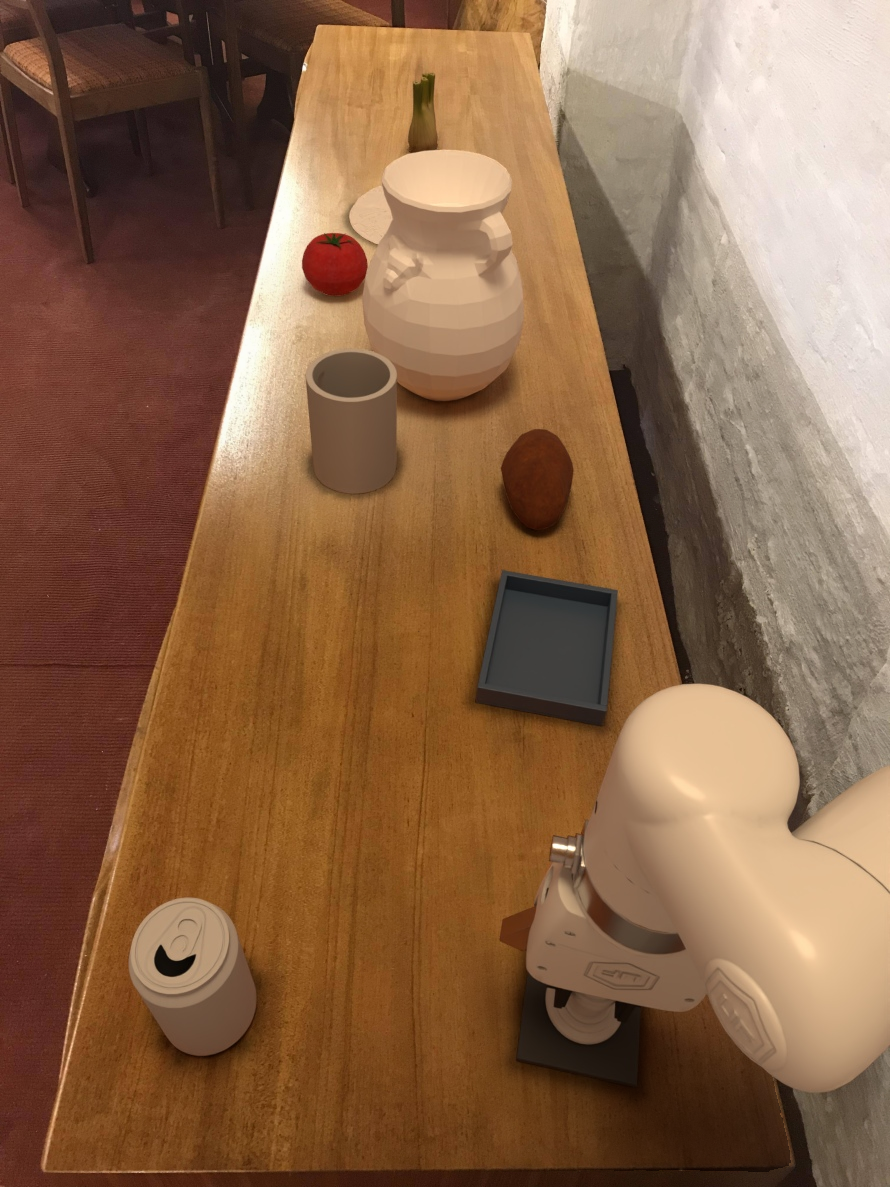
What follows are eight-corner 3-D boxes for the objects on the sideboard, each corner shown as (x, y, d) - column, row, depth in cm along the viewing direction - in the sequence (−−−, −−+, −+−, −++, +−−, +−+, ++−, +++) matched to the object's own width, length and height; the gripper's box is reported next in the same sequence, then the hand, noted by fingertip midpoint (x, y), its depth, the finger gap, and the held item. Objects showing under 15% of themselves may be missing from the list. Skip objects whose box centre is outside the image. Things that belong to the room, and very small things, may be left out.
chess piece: (620, 966, 64) (644, 921, 57) (624, 1049, 60) (650, 1012, 53) (544, 961, 64) (559, 915, 57) (544, 1043, 60) (560, 1005, 53)
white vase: (334, 372, 111) (321, 166, 92) (445, 321, 119) (455, 123, 101) (433, 448, 102) (442, 237, 83) (546, 388, 110) (577, 184, 92)
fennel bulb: (414, 160, 152) (416, 82, 143) (400, 148, 154) (400, 72, 145) (444, 153, 154) (447, 77, 145) (429, 142, 156) (431, 67, 147)
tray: (602, 726, 78) (606, 711, 76) (475, 702, 79) (477, 687, 78) (613, 605, 87) (618, 589, 86) (500, 585, 89) (502, 569, 87)
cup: (395, 494, 97) (395, 403, 88) (310, 492, 96) (301, 400, 87) (397, 440, 103) (397, 349, 94) (317, 438, 102) (310, 347, 93)
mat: (635, 1087, 59) (637, 1085, 59) (515, 1060, 60) (516, 1058, 60) (641, 966, 65) (643, 963, 64) (531, 943, 65) (532, 940, 65)
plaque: (424, 175, 147) (424, 166, 146) (507, 225, 138) (507, 216, 136) (323, 215, 139) (322, 205, 138) (404, 271, 129) (404, 262, 128)
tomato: (381, 286, 125) (380, 230, 119) (342, 313, 119) (339, 257, 113) (330, 266, 127) (327, 211, 121) (290, 292, 122) (285, 236, 116)
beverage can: (146, 1044, 60) (102, 984, 51) (187, 950, 64) (153, 879, 55) (236, 1070, 59) (208, 1014, 50) (271, 973, 63) (251, 905, 54)
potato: (499, 537, 93) (506, 479, 87) (496, 464, 101) (502, 406, 95) (572, 540, 93) (584, 482, 87) (564, 467, 101) (574, 409, 95)
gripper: (478, 910, 44) (457, 1023, 58) (823, 983, 42) (717, 1081, 56) (501, 777, 49) (477, 910, 63) (811, 838, 47) (716, 961, 61)
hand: (591, 990), depth 59 cm, fingers closed on chess piece, 3 cm apart
